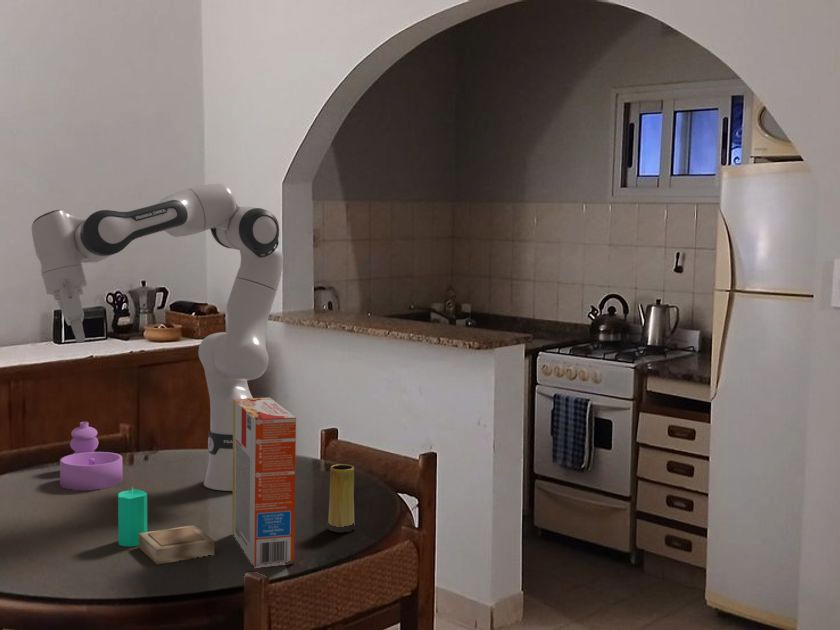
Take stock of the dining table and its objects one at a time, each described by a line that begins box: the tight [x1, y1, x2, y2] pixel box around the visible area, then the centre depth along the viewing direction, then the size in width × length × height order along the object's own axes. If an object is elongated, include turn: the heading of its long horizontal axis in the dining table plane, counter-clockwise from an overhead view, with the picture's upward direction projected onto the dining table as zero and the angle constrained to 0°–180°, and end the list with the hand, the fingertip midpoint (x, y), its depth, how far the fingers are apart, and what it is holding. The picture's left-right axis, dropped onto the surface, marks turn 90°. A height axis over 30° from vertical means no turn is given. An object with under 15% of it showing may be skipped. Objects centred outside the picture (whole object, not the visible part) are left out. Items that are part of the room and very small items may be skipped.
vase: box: [327, 463, 355, 527], centre depth 227 cm, size 6×6×14 cm
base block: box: [138, 524, 215, 565], centre depth 210 cm, size 12×12×3 cm
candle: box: [117, 486, 148, 548], centre depth 215 cm, size 6×6×12 cm
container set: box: [59, 421, 124, 491], centre depth 265 cm, size 25×15×13 cm, turn 26°
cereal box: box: [231, 397, 297, 567], centre depth 211 cm, size 23×8×30 cm, turn 21°
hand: (81, 341), depth 229 cm, fingers open, 8 cm apart
